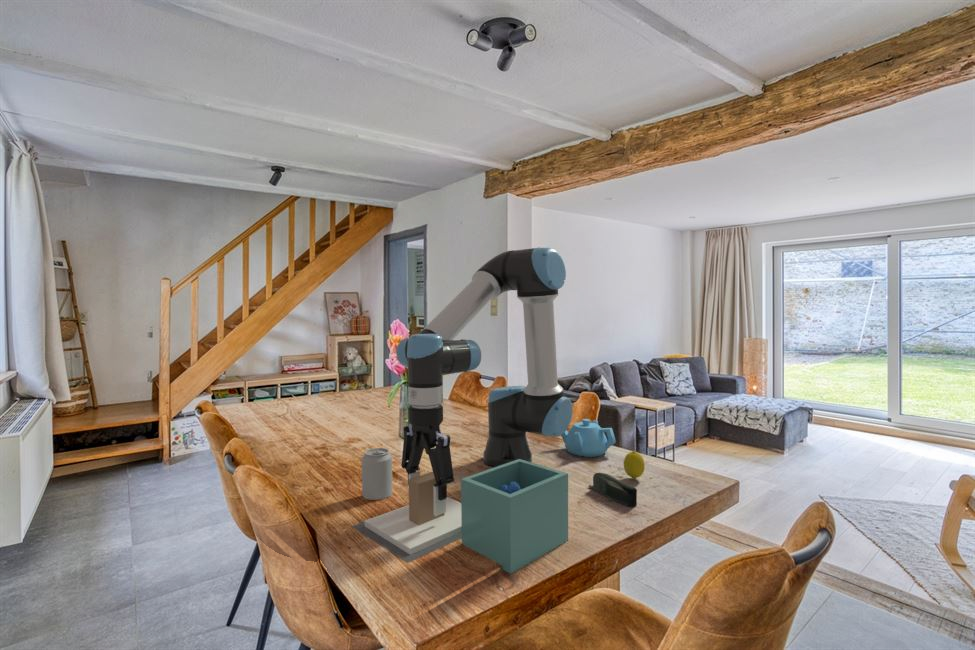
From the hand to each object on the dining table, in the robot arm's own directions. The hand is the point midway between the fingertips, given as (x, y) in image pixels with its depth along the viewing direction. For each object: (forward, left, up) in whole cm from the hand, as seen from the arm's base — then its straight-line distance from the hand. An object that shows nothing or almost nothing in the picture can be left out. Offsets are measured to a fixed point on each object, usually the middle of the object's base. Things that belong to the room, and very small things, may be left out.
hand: (426, 507), depth 105 cm
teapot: (-6, +70, -5) cm, 70 cm away
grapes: (+19, +8, -4) cm, 21 cm away
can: (-22, +1, -5) cm, 22 cm away
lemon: (+18, +58, -5) cm, 61 cm away
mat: (0, 0, -4) cm, 4 cm away
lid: (0, 0, -4) cm, 4 cm away
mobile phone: (+20, +43, -5) cm, 48 cm away
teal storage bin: (+19, +8, -4) cm, 21 cm away
